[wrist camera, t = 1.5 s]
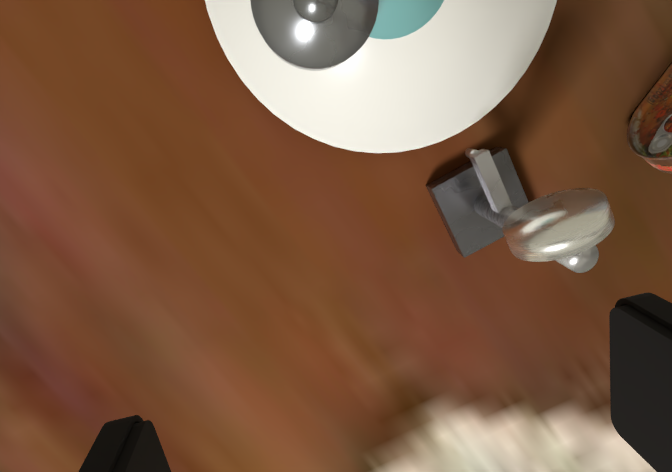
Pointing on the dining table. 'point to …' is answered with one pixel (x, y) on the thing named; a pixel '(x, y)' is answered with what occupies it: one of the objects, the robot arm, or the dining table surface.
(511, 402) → the dining table surface
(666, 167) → the tin
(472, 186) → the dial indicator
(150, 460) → the robot arm
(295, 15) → the cover
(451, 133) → the white plate
